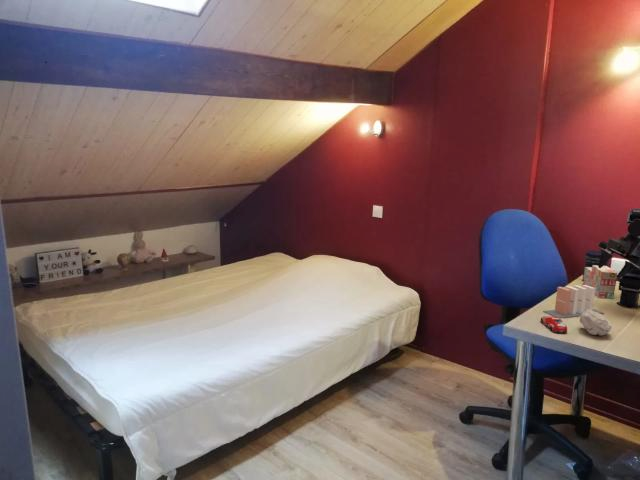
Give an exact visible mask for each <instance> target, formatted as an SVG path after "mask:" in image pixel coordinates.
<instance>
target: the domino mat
mask: <svg viewBox="0 0 640 480" xmlns="http://www.w3.org/2000/svg"><path fill="white" fill-rule="evenodd" d="M592 311H594V312H597V313H599V314H601V315H604V312H602V311H599V310H597V309H595V308H593V310H592ZM543 313H545V314H548V315H549V316H551V317H557V318H560V319H566V318H567V319H568V318H569V319H570V318H580V316H581V315H582V314H580V313H578V312H576V314H570V313H568V315H562V314H560V313H558V312H555V309H550V310H549V309H548V310H543Z"/></svg>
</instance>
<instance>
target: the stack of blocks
mask: <svg viewBox="0 0 640 480" xmlns="http://www.w3.org/2000/svg"><path fill="white" fill-rule="evenodd" d="M584 268H585V270H584V269H583V271H584V281H582V282H583V283H582V285H587V286H590V287H593V288H595V295H594V297H596V298H598V299H604V300H605V299H607V300H614V297H615V291H616V290H615V289H616V285H617V279H618V278H617V275H618V272H617V271H615V269H613V268H611V267H609V266H608V265H607V266H603V267H601V268H599V267H598V266H597V265H592V267H585V266H584Z"/></svg>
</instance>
